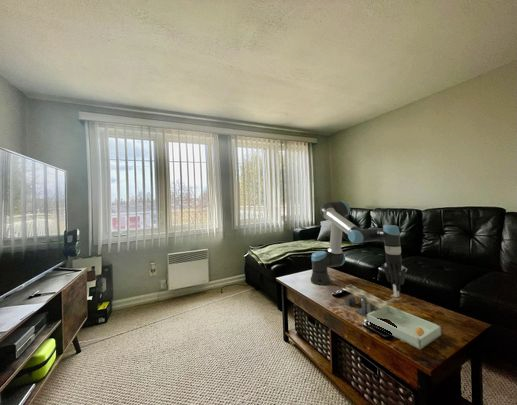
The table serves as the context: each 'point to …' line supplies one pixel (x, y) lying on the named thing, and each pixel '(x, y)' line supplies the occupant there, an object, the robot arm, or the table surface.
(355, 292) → the lever
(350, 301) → the stand
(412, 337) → the tray
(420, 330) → the ball
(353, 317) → the table surface
